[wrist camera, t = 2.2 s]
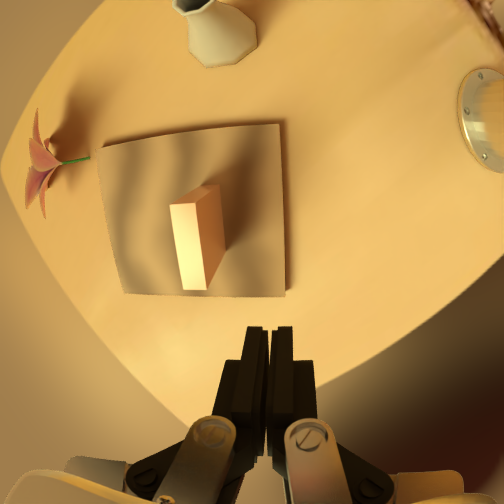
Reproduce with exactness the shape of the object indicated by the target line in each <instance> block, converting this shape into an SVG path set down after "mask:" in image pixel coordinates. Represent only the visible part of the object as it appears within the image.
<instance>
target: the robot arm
mask: <svg viewBox="0 0 504 504" xmlns="http://www.w3.org/2000/svg"><path fill="white" fill-rule="evenodd" d="M457 105H458V118H459V124H460V128H461V131H462V135H463V137H464V140H465V142H466V144H467V146H468V148H469V150H470V152H471V153H472V154H473V156H474V157H475V158H476V160H477V161H478V162H479V163H480V164H481V165H482V166H484V167H486V168H487V169H489V170H492V171H494V172H498V173H504V76H503V75H502V74H501V73H499V72H497V71H495V70H492V69H488V68H481V69H477V70H474V71H472V72H470V73H469V74H468V75H467V76H466V77H465V78H464V80H463V82H462V84H461V86H460V90H459V93H458V102H457ZM266 431H267V450H268V456H272V461H273V462H272V463H273V469H274V470H275V471H276V472H278V473H279V474H280V475H281V476H282V477H283V486H284V494H285V501H286V504H497V502H496V501H495V500H494V499H493V498H492V497H490V496H487V495H484V494H476V493H464V491H463V490H464V487H463V479H462V477H461V475H460V474H459V473H457V472H455V471H451V470H445V471H434V472H418V473H399V474H398V475H388V474H386V473H385V472H383V471H382V470H380V469H378V468H376V467H375V466H373V465H371V464H370V463H368V462H366V461H365V460H363V459H361V458H360V457H358V456H357V455H355V454H354V453H352V452H350V451H349V450H347V449H346V448H344V447H343V446H341V445H340V444H338V443H337V442H336V441H335V438H334V434H333V432H332V430H331V428H330V427H329V426H328V425H327V424H326V423H325V422H323V421H321V420H318V419H317V405H316V390H315V378H314V366H313V360H299V361H293V330H292V326H282V327H278V330H272V339H271V352H270V365H269V345H268V330H263V329H262V327H254V326H248V327H247V331H246V336H245V341H244V346H243V351H242V356H241V360H226V361H225V365H224V368H223V372H222V376H221V380H220V384H219V388H218V392H217V396H216V399H215V403H214V407H213V411H212V415H211V416H205V417H203V418H200V419H198V420H197V421H196V422H194V423H193V425H192V426H191V427H190V429H189V431H188V433H187V435H186V437H185V439H184V440H183V441H181V442H178V443H177V444H174V445H172V446H171V447H168V448H166V449H164V450H162V451H160V452H158V453H156V454H154V455H151V456H149V457H147V458H145V459H143V460H140V461H138V462H136V463H134V464H127V463H126V462H125V461H115V460H106V459H99V458H92V457H85V456H75V457H73V458H71V459H70V460H69V461H68V462H67V464H66V465H65V469H64V472H61V471H56V470H46V469H41V470H32V471H29V472H27V473H25V474H24V475H23V476H21V477H20V478H19V480H18V481H17V482H16V484H15V485H14V486H13V488H12V489H11V491H10V492H9V494H8V496H7V498H6V500H5V501H4V503H3V504H235V502H236V500H237V497H238V494H239V491H240V488H241V485H242V482H243V480H244V477H245V473H246V472H248V471H249V470H251V469H252V468H253V467H254V463H257V456H263V453H264V443H265V433H266Z"/></svg>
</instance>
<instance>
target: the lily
mask: <svg viewBox="0 0 504 504" xmlns="http://www.w3.org/2000/svg"><path fill="white" fill-rule="evenodd" d="M49 142H50V138H46V139H45V140H44V144H45V147H46V149H45V148H44V147H43V144H42V142H41V138H40V134H39V127H38V108H37V110H36V113H35V118H34V123H33V139H32V138H30V139H29V151H30V157H31V162H32V166H31V167H29V172H28V175H27V179H26V187H25V205H26V209H28V208H29V206H30V204H31V203H32V202H33V200H34V199H35V198H36V197H37V196H38V194H39V193H40V195H39V198H40V204H41V209H42V212H43V215H44V218H45V219H46V216H45V202H44V196H45V191H47V189H48V185H47V182H48V180H49V178H50V176H51V175H52V173H53V172H54V170H55V169H56V167H57V166H59V165H63V164H69V163H74V162H78V161H83V160H87V159H90V157H85V158H81V159H76V160H72V161H66V162H59V161H58V160H57V159H56V158H55V157H54V156H53V155H52V154H51V152H50V151H49V150H48V147H49Z"/></svg>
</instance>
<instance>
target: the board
mask: <svg viewBox="0 0 504 504" xmlns="http://www.w3.org/2000/svg"><path fill="white" fill-rule="evenodd" d="M95 150H96V159H97V167H98V175H99V182H100V188H101V194H102V200H103V206H104V212H105V217H106V222H107V227H108V232H109V237H110V241H111V246H112V250H113V254H114V258H115V262H116V266H117V270H118V274H119V278H120V281H121V285H122V289H123V292H124V294H143V295H167V296H199V297H285V248H284V213H283V186H282V164H281V144H280V127H279V124H264V125H248V126H235V127H224V128H214V129H205V130H197V131H189V132H182V133H175V134H169V135H163V136H157V137H151V138H146V139H140V140H135V141H130V142H125V143H121V144H116V145H112V146H107V147H103V148H99V149H95ZM217 184H220V195H221V206H222V216H223V226H224V236H225V246H226V253H225V254H224V256H223V259H222V261H221V263H220V265H219V267H218V269H217V271H216V273H215V275H214V277H213V279H212V281H211V283H210V285H209V287H208V289H207V290H183V285H182V279H181V274H180V268H179V263H178V257H177V251H176V245H175V239H174V233H173V226H172V219H171V212H170V204H171V203H173V202H174V201H176V200H178V199H179V198H181V197H182V196H184V195H186V194H187V193H189V192H190V191H192V190H194V189H195V188H197V187H199V186H203V185H217Z"/></svg>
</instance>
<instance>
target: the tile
mask: <svg viewBox="0 0 504 504" xmlns="http://www.w3.org/2000/svg"><path fill="white" fill-rule="evenodd" d="M170 212H171V219H172V226H173V233H174V239H175V245H176V251H177V257H178V263H179V268H180V274H181V279H182V285H183V290H207V289H208V287H209V285H210V283H211V281H212V279H213V277H214V275H215V273H216V271H217V269H218V267H219V265H220V263H221V261H222V259H223V256H224V254H225V253H226V246H225V236H224V226H223V216H222V206H221V195H220V184H217V185H203V186H199V187H197V188H195V189H194V190H192V191H190V192H189V193H187V194H186V195H184V196H182V197H181V198H179V199H178V200H176V201H174V202H173V203H171V204H170Z"/></svg>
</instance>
